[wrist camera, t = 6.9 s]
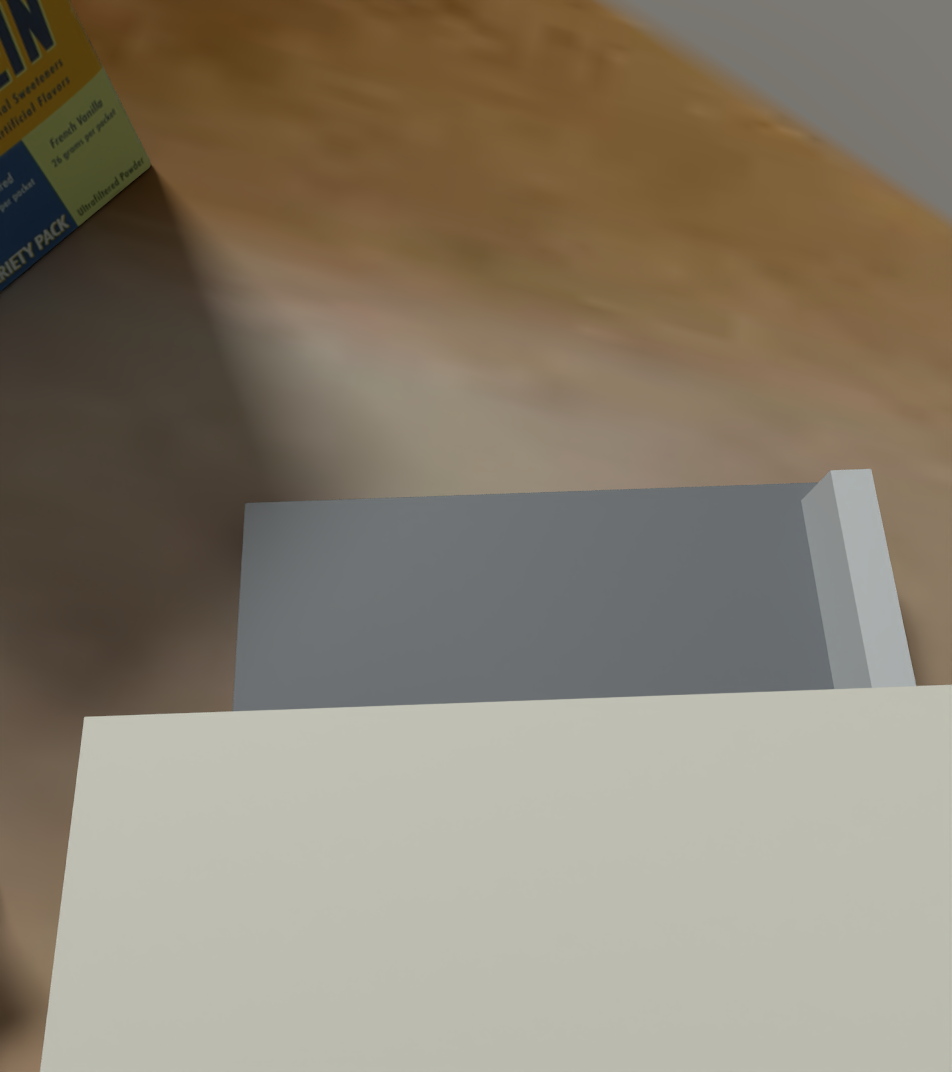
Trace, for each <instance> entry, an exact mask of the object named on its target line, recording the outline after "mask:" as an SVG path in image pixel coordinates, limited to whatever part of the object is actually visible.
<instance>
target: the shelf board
mask: <svg viewBox="0 0 952 1072" xmlns="http://www.w3.org/2000/svg"><path fill="white" fill-rule="evenodd" d="M908 686H916V683H915V678H914V673H913V668H912V663H911V659H910V654H909V649H908V644H907V640H906V635H905V630H904V625H903V620H902V616H901V611H900V606H899V601H898V596H897V592H896V587H895V582H894V577H893V572H892V568H891V563H890V558H889V553H888V548H887V544H886V539H885V534H884V529H883V524H882V520H881V515H880V510H879V505H878V500H877V496H876V491H875V486H874V481H873V476H872V472H871V469H859V470H832V471H830V472H829V473H828V474H827V475H826V476H825V477H824V478H823V479H822V480H821V481H820V482H818V483H790V484H763V485H735V486H707V487H679V488H651V489H623V490H595V491H568V492H540V493H512V494H484V495H456V496H428V497H400V498H373V499H345V500H317V501H289V502H261V503H245V515H244V531H243V548H242V564H241V581H240V597H239V614H238V630H237V647H236V664H235V680H234V697H233V711H258V710H286V709H313V708H340V707H367V706H394V705H421V704H448V703H475V702H502V701H529V700H556V699H583V698H610V697H637V696H664V695H691V694H718V693H746V692H773V691H800V690H827V689H854V688H881V687H908Z"/></svg>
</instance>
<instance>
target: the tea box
mask: <svg viewBox="0 0 952 1072" xmlns="http://www.w3.org/2000/svg"><path fill="white" fill-rule="evenodd" d="M40 1072H952V685H935V686H908V687H881V688H854V689H827V690H800V691H773V692H746V693H718V694H691V695H664V696H637V697H610V698H583V699H556V700H529V701H502V702H475V703H448V704H421V705H394V706H367V707H340V708H313V709H286V710H258V711H231V712H204V713H177V714H150V715H123V716H96V717H84V724H83V732H82V740H81V748H80V756H79V764H78V772H77V780H76V788H75V796H74V804H73V812H72V820H71V828H70V836H69V844H68V852H67V860H66V868H65V876H64V884H63V892H62V900H61V908H60V916H59V924H58V933H57V941H56V949H55V957H54V965H53V973H52V981H51V989H50V997H49V1005H48V1013H47V1021H46V1029H45V1037H44V1045H43V1053H42V1061H41V1069H40Z"/></svg>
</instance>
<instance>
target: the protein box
mask: <svg viewBox="0 0 952 1072" xmlns="http://www.w3.org/2000/svg"><path fill="white" fill-rule="evenodd" d="M150 165H151V163H150V160H149V158H148V156H147V154H146V152H145V149H144V147H143V145H142V144H141V142H140V140H139V138H138V136H137V134H136V132H135V130H134V128H133V126H132V124H131V122H130V119H129V117H128V115H127V113H126V111H125V109H124V107H123V105H122V103H121V101H120V99H119V97H118V95H117V93H116V91H115V89H114V87H113V85H112V83H111V81H110V79H109V77H108V75H107V73H106V71H105V69H104V67H103V65H102V64H101V62H100V60H99V58H98V56H97V54H96V52H95V50H94V48H93V46H92V44H91V42H90V40H89V38H88V36H87V34H86V32H85V30H84V28H83V26H82V24H81V22H80V20H79V18H78V16H77V14H76V12H75V10H74V8H73V6H72V4H71V2H70V0H0V291H2V290H3V289H4V288H5V287H7V286H8V285H9V284H10V283H11V282H13V281H14V280H15V279H16V278H17V277H19V276H20V275H21V274H22V273H23V272H25V271H26V270H27V269H28V268H29V267H30V266H32V265H33V264H34V263H35V262H36V261H38V260H39V259H40V258H41V257H43V256H44V255H45V254H46V253H48V252H49V251H50V250H51V249H52V248H54V247H55V246H56V245H57V244H58V243H59V242H61V241H62V240H63V239H64V238H65V237H67V236H68V235H69V234H70V233H71V232H73V231H74V230H75V229H76V228H77V227H78V226H80V225H81V224H82V223H83V222H84V221H86V220H87V219H88V218H89V217H91V216H92V215H93V214H94V213H95V212H97V211H98V210H99V209H100V208H101V207H103V206H104V205H105V204H106V203H107V202H109V201H110V200H111V199H112V198H113V197H115V196H116V195H117V194H118V193H119V192H121V191H122V190H123V189H124V188H125V187H127V186H128V185H129V184H130V183H131V182H133V181H134V180H135V179H136V178H138V177H139V176H140V175H141V174H142V173H144V172H145V171H146V170H147V169H149V168H150Z"/></svg>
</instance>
